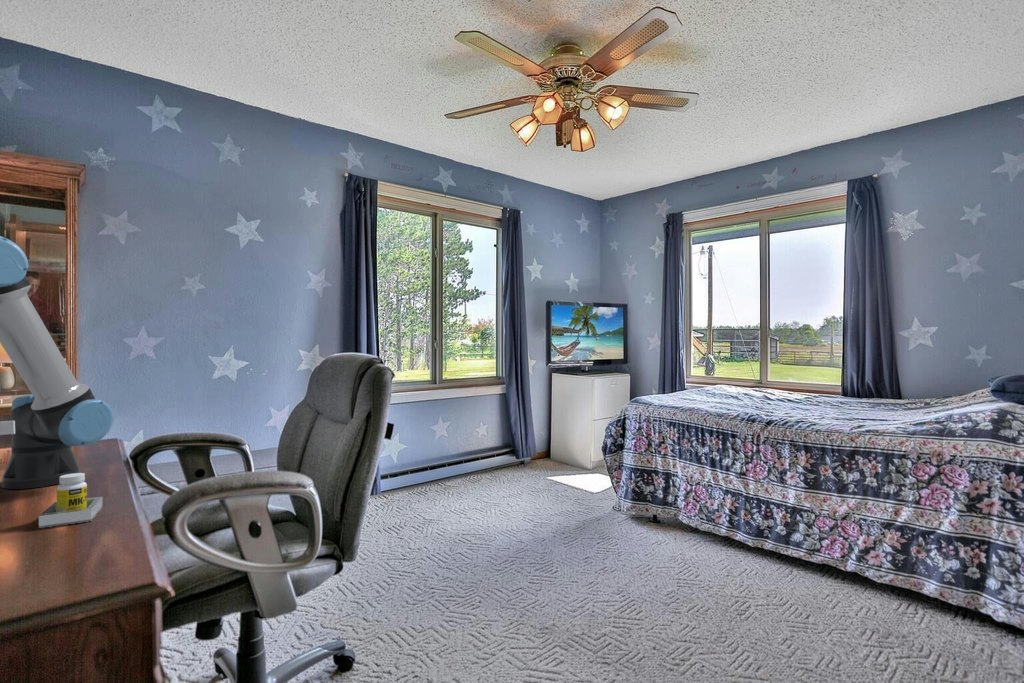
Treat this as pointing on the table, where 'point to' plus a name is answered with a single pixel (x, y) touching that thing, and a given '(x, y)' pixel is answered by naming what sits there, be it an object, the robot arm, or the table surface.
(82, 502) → the supplement bottle
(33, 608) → the table surface
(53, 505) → the rectangular metal tray
